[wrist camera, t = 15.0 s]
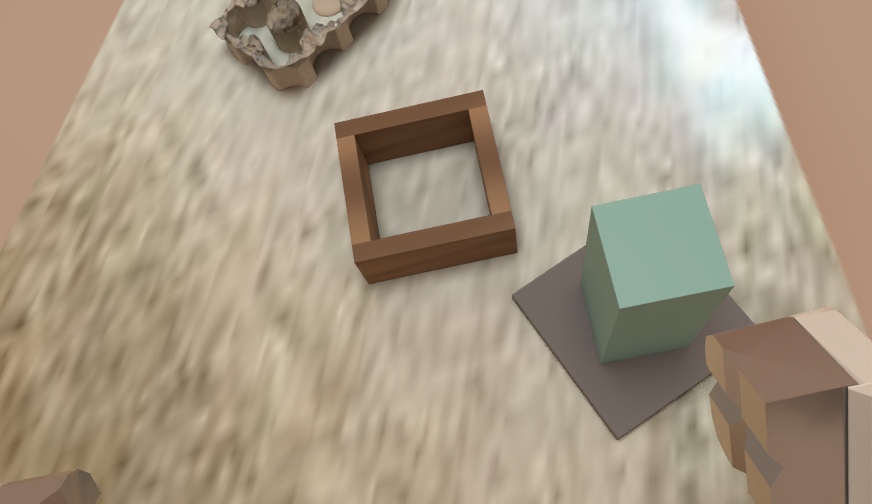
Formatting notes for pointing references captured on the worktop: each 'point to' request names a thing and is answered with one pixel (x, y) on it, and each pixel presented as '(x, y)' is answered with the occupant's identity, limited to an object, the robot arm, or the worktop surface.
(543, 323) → the rubber mat
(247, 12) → the egg carton
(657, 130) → the worktop surface
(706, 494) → the worktop surface
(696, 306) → the teal block
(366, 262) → the pocket holder
